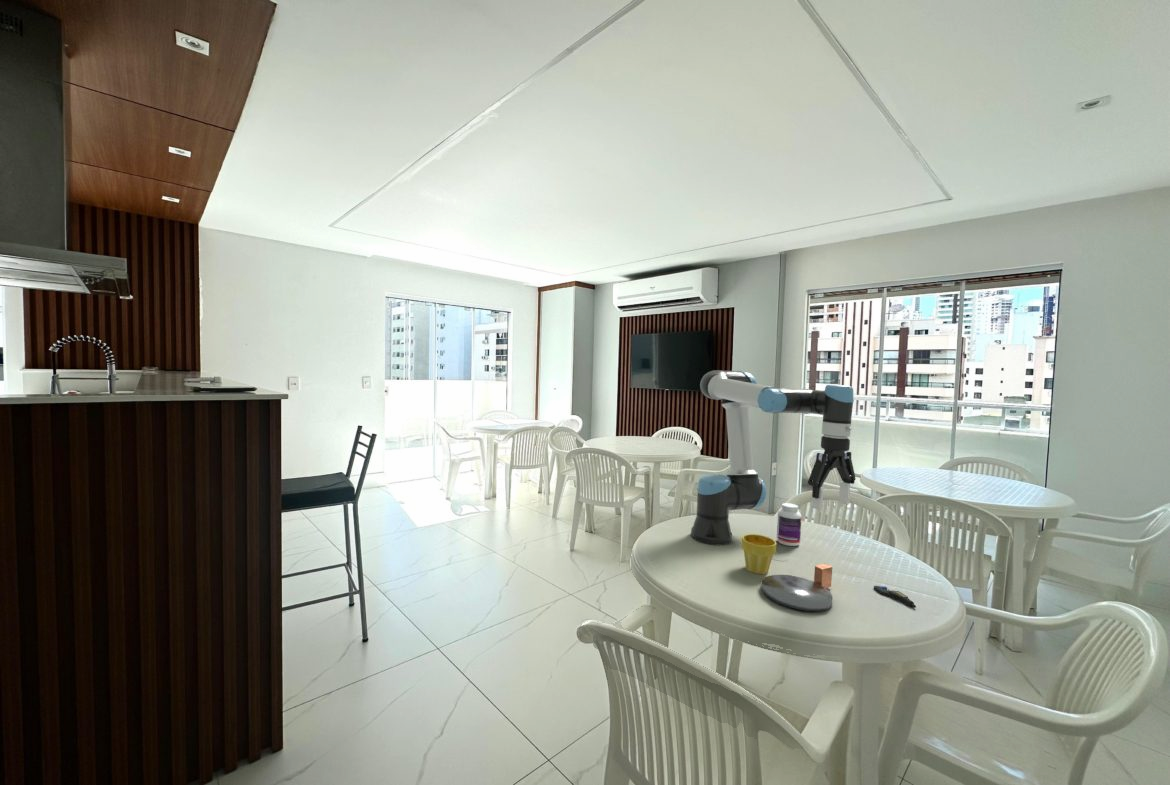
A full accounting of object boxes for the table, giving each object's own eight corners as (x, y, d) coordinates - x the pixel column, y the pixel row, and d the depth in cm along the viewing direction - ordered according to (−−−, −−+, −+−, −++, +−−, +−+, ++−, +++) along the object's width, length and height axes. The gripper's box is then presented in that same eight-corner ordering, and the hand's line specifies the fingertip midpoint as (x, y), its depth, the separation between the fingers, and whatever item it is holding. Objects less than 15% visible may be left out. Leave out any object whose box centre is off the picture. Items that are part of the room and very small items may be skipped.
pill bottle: (804, 547, 163) (806, 508, 163) (781, 546, 164) (784, 508, 163) (793, 539, 172) (796, 502, 171) (772, 538, 172) (775, 501, 171)
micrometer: (871, 583, 133) (887, 583, 134) (871, 589, 133) (887, 589, 134) (902, 603, 121) (919, 603, 122) (901, 609, 121) (919, 610, 122)
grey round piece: (747, 586, 130) (748, 565, 130) (800, 572, 141) (801, 553, 140) (803, 617, 114) (804, 594, 114) (857, 599, 125) (859, 578, 124)
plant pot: (778, 578, 137) (779, 547, 137) (742, 574, 139) (744, 543, 139) (771, 565, 147) (772, 535, 147) (738, 561, 149) (739, 532, 149)
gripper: (822, 440, 125) (816, 514, 126) (871, 436, 137) (866, 505, 138) (797, 436, 131) (792, 507, 132) (847, 433, 144) (842, 498, 145)
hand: (830, 506), depth 135 cm, fingers open, 13 cm apart
